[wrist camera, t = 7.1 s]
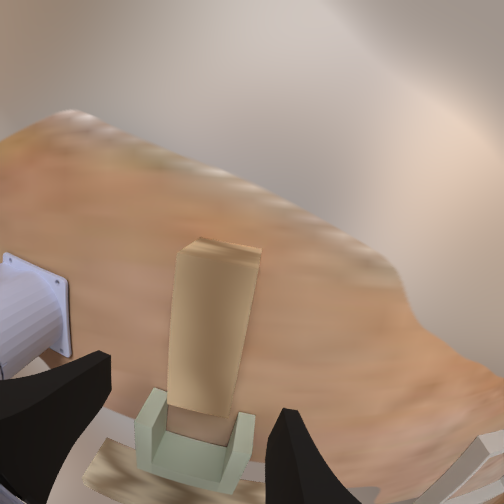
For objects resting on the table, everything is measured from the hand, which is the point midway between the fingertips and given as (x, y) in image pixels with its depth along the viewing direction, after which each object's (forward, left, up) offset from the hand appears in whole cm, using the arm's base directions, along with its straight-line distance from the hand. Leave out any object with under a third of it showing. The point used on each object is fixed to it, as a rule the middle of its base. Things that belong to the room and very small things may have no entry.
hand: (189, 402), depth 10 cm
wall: (0, -24, -9) cm, 26 cm away
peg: (0, 0, -10) cm, 10 cm away
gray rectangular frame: (+51, -22, -9) cm, 56 cm away
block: (0, -13, -9) cm, 16 cm away
